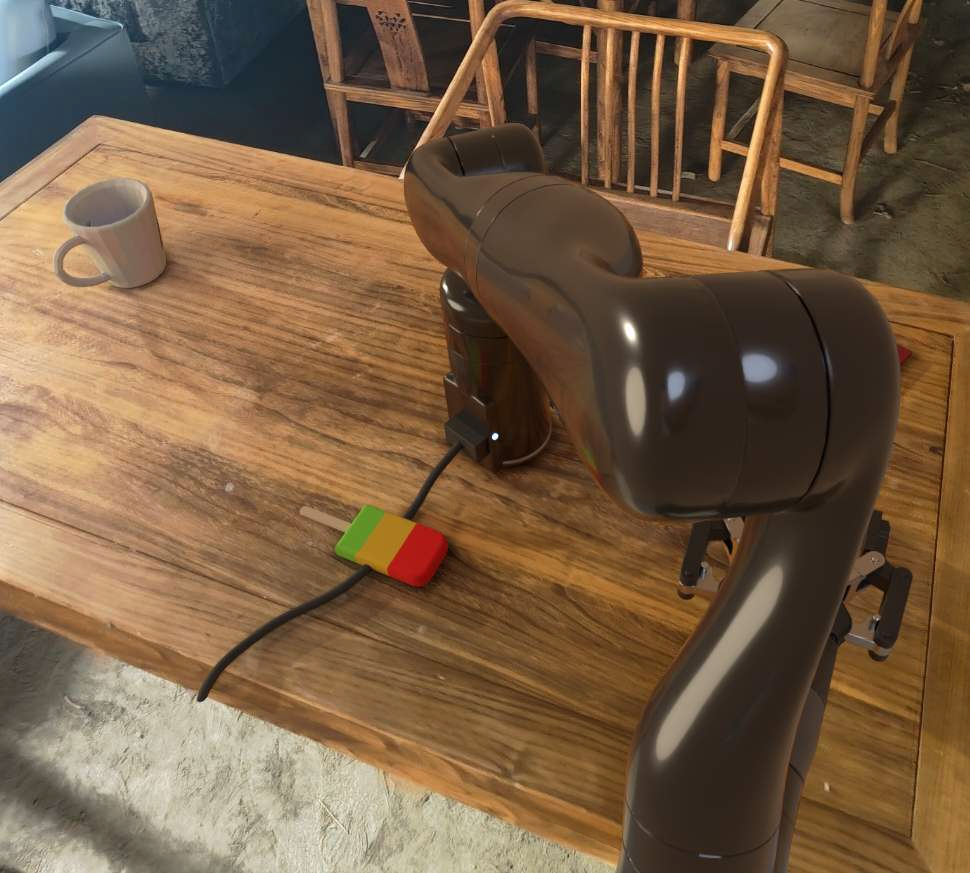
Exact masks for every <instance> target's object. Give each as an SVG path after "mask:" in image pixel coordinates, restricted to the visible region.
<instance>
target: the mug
mask: <svg viewBox="0 0 970 873" xmlns="http://www.w3.org/2000/svg"><path fill="white" fill-rule="evenodd" d="M61 217H62V220H63V221H64V223H65V225H66V227H67V228H68V229H69V231H70V233H71V234H72V235H73V236H72V237H69V238H67V239H66V240H64V241H63V242H62V243H61V244H59V246H58V247H57V248H56V249H55V251H54V253H53V255H52V256H53V257H52V270H53V273H54V274H55V276H56V277H57V278H58V280H60V281H61V282H62V283H63V284H65V285H67V286H70V287H75V288H91V287H95V286H99V285H102V284H105V283H107V282H108V283H109V284H111V285H113V286H114V287H117V288H121V289H133V288H137V287H141V286H144V285H147V284H150V283H151V282H153V281H154V280H156V279H158V278H159V277H160V275H161V274H163V273H164V270H165V269H166V266H167V256H166V251H165V246H164V242H163V237H162V232H161V228H160V224H159V219H158V215H157V211H156V206H155V201H154V197H153V193H152V191H151V189H150V188H149V186H148V184H147V183H144V182H143V181H141V180H139V179H135V178H131V177H113V178H107V179H102V180H99V181H96V182H94V183H91V184H88V185H86V186H85V187H83V188H81V189H79V190H78V191H76V192H75V193H74V194H73V195H72V196H70V197H69V198H68V199H67V201H66V202H65V203H64V206H63V207H62V212H61ZM78 246H81V248H83V250H84V251H85V253H86V254H87V255H88V257H89V258H90V259H91V261H92V262H93V264H94V265H95V266H96V268H97V269H98V271H99V272H100V274H99V273H98V274H97V275H94V276H90V277H76V276H72V275H71V274H69V273H67V271H66V270H65V269H64V259H65V257H66V255H67V254H68V253H69V252H70V251H71V250H73V249H74V248H75V247H78Z"/></svg>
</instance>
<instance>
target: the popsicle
mask: <svg viewBox="0 0 970 873" xmlns="http://www.w3.org/2000/svg"><path fill="white" fill-rule="evenodd" d="M299 514H300V515H301V516H302V517H305V518H308V519H310V520H312V521H315V522H317V523H320V524H322V525H325V526H327V527H330V528H332V529H335V530H338V531H340V532H342V533H344V534H343V535H342V537H341V538H340V539H339V541H338V542H337V544H336V545H335V546H334V551H335V554H336V555H337V556H339V557H341V558H344V559H346V560H348V561H351V562H354V563H356V564H358V565H361V566H363V565H364V564H367V565H369V566H371V568H372V570H373V571H375V572H377V573H380V574H382V575H385V576H387V577H389V578H392V579H395V580H397V581H400V582H402V583H403V584H404V583H405V584H407V585H409V586H412V587H418V588H419V587H420V588H421V587H424V586H426V585H427V584H428V583H430V581H431V580H432V578H433V577H434V576H435V574H436V572H437V571H438V569H439V567H440V566H441V564H442V562H443V561H444V559H445V557H446V556H447V554H448V550H449V543H448V540H447V537H446V536H445V535H444V533H442V532H441V531H438V530H436V529H434V528H431V527H428V526H426V525H423V524H422V523H421V524H420V523H418V522H415V521H412V520H411V521H410V520H407V519H405V518H402V517H403V516H399V515H397V514H395V513H392V512H389V511H387V510H383V509H381V508H379V507H375V506H373V505H370V504H365V505H364V506H362V508H361V510H360V511H359V512H358V514H357V515H356V516H355V518H354V520H353V521H352V522H351V523H350V522H348V521H346V520H343V519H341V518H338V517H336V516H333V515H330V514H329V513H328V514H327V513H326V512H323V511H320V510H317V509H315V508H312V507H310V506H307V505H304V506H303V505H302V507H301V508H300V509H299Z"/></svg>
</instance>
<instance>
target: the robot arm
mask: <svg viewBox="0 0 970 873" xmlns="http://www.w3.org/2000/svg"><path fill="white" fill-rule="evenodd" d="M548 168H549V167H548V163H547V159H546V156H545V153H544V151H543V147H542V145H541V143H540V141H539V139H538V137H537V136H536V135H535V133H534V132H533V131H532V130H531V129H530V127H528V126H526V125H525V124H523V123H519V122H509V123H502V124H498V125H493V126H488V127H484V128H480V129H475V130H471V131H466V132H462V133H457V134H453V135H449V136H444V137H439V138H435V139H432V140H429V141H426V142H425V143H423V144H420V145H419V146H418V147H416V148H415V149H414V150H413V151H412V153H410V155H409V157H408V159H407V162H406V164H405V168H404V174H403V197H404V202H405V206H406V210H407V215H408V217H409V220H410V222H411V225H412V227H413V230H414V232H415V234H416V235H417V237H418V239H419V240H420V242H421V244H422V246H424V248H425V249H426V251H427V252H428V253H429V254H430V255H431V256H432V257H433V258H434V259H435V260H436V261H438V262H439V263H440V264H441V265H443V266H445V267H446V269H445V270H444V272H443V274H442V276H441V278H440V282H439V302H440V307H441V314H442V319H443V327H444V333H445V342H446V349H447V357H448V363H449V370H450V371H449V372H447V373H446V374H445V375H443V377H442V383H443V388H444V395H445V401H446V407H447V408H446V409H447V414H448V420H447V421H445V422H443V429H444V436H445V441H446V442H448V443H449V444H450V445H451V447H450V449H449V450H448V451H447V452H446V453H445V454H444V456H443V457H442V458H441V459H440V460H439V461H438V462H437V464H436V465H435V467H434V468H433V469H432V470H431V472H430V473H429V474H428V476H427V477H426V479H425V481H424V482H423V484H422V486H421V488H420V490H419V491H418V493H417V495H416V496H415V499H414V500H413V502H412V503H411V505H410V506H409V507H408V509H407V510H406V511H405V513H404V514H403V515H402V516H401V517H402V518H405V519H407V520H410V521H412V520H413V518H414V517H415V515H416V514H417V512H418V511H419V509H420V508H421V507H422V505H424V502H425V500H426V498H427V497H428V495H429V493H430V491H431V489H432V487H433V486H434V484H435V483H436V482H437V480H438V479H439V477H440V476H441V474H443V472H444V471H445V469H446V468H447V467H448V466H449V464H451V462H452V461H453V460H454V459H455V458H456V457H457V455H458V454H459V453H460V452H461V453H462V454H463V455H465V456H466V457H467V458H468V459H470V460H472V461H473V462H474V463H475V464H480V465H482V466H483V467H484V468H486V469H487V470H488V471H490V472H491V473H493V474H496V473H497V472H499V471H500V470H502V469H504V468H512V467H517V466H522V465H524V464H527V463H529V462H531V461H533V460H534V459H536V458H538V457H539V456H541V454H542V453H543V452H544V451H545V450H546V448H547V447H548V446H549V444H550V441H551V439H552V435H553V424H552V418H551V409H552V410H554V411H555V414H556V415H557V417H558V419H559V421H560V422H561V425H562V427H563V428H564V430H565V433H566V434H567V436H568V438H569V440H570V442H571V444H572V446H573V447H574V449H575V451H576V453H577V455H578V456H579V458H580V460H581V462H582V464H583V465H584V467H585V469H586V470H587V472H588V473H589V475H590V477H592V479H593V481H594V482H595V484H596V485H597V487H598V488H599V489H600V491H601V492H602V494H604V495H605V497H606V498H607V499H608V500H609V501H610V503H612V504H613V505H614V506H616V507H617V508H618V509H619V511H621V512H624V513H625V514H626V515H628V516H630V517H631V518H633V519H636V520H639V521H642V522H647V523H648V522H649V523H654V524H655V523H656V524H665V525H685V524H687V525H688V524H692V526H691V529H690V533H689V537H688V541H687V545H686V548H685V552H684V555H683V559H682V563H681V566H680V570H679V577H678V582H677V583H678V584H677V590H676V594H677V596H678V597H679V598H680V599H682V600H683V601H684V600H685V601H690V600H692V599H693V598H695V596H699V597H702V598H706V599H710V600H711V601H710V604H709V606H707V609H706V610H705V611H704V613H703V615H702V616H701V618H700V619H699V621H698V623H697V624H696V626H695V627H694V628H693V630H692V631H691V633H690V635H689V636H688V637H687V639H686V640H685V641H684V643H683V644H682V645H681V647H680V648H679V650H678V651H677V653H676V654H675V656H674V657H673V658H672V659H671V661H670V663H669V664H668V666H667V667H666V669H665V670H664V671H663V673H662V675H661V676H660V677H659V679H658V681H657V682H656V684H655V685H654V687H653V689H652V691H651V692H650V694H649V695H648V698H647V699H646V702H645V704H644V706H643V707H642V710H641V712H640V714H639V716H638V718H637V721H636V723H635V726H634V727H633V728H634V729H633V730H632V735H631V739H630V743H629V747H628V752H627V758H626V763H625V764H626V765H625V772H624V773H625V774H624V791H623V809H622V824H621V826H622V828H621V831H622V834H621V841H620V842H621V844H620V850H619V855H618V860H617V865H616V867H615V872H614V873H788V872H789V863H790V854H791V849H792V844H793V838H794V833H795V827H796V823H797V820H798V814H799V810H800V805H801V800H802V796H803V791H804V787H805V784H806V780H807V777H808V774H809V772H810V769H811V767H812V764H813V761H814V758H815V755H816V753H817V748H818V745H819V741H820V737H821V736H820V735H821V731H822V725H823V720H824V717H825V712H826V708H827V703H828V698H829V693H830V688H831V684H832V680H833V675H834V670H835V665H836V660H837V655H838V652H839V648H840V646H842V645H843V644H844V643H845V642H847V643H850V644H852V645H855V646H857V647H861V648H864V649H866V650H867V654H868V656H869V657H870V659H872V660H873V661H875V662H879V663H883V662H885V661H887V659H888V657H889V655H890V654H891V652H892V650H893V648H894V646H895V644H896V642H897V641H898V637H899V634H900V630H901V626H902V622H903V617H904V614H905V610H906V607H907V602H908V598H909V595H910V594H909V593H910V590H911V586H912V584H913V579H914V575H913V572H912V571H911V570H909V569H908V568H907V567H903V566H897V567H896V566H895V565H892V564H891V563H890V562H889V561H888V560H887V558H886V554H887V553H886V552H887V549H888V548H887V547H888V542H889V538H890V532H891V527H892V526H891V525H890V521H889V520H886V519H883V515H884V511H882V510H879V509H875V507H876V504H877V501H878V498H879V495H880V492H881V489H882V486H883V483H884V480H885V477H886V474H887V470H888V466H889V463H890V459H891V455H892V452H893V447H894V442H895V439H896V438H895V437H896V433H897V428H898V423H899V415H900V406H901V405H900V404H901V390H902V389H901V388H902V371H901V366H900V363H899V355H898V349H897V344H898V343H897V340H896V337H895V334H894V331H893V328H892V326H891V323H890V320H889V318H888V315H887V314H886V312H885V311H884V309H883V307H882V306H881V304H880V302H879V301H878V299H877V298H876V296H874V295H873V293H872V292H871V291H870V290H868V288H867V287H865V285H864V284H863V283H862V282H861V281H859V280H857V279H856V278H854V277H852V276H850V275H849V274H846V273H844V272H842V271H839V270H836V269H830V268H821V267H818V268H817V267H815V268H814V267H801V268H800V267H799V268H779V269H763V270H757V271H755V270H754V271H753V270H748V271H735V272H718V273H705V274H703V273H702V274H701V273H700V274H687V275H686V274H685V275H677V276H675V275H672V276H652V277H651V276H649V277H644V257H643V253H642V249H641V248H642V247H641V243H640V240H639V238H638V235H637V233H636V231H635V229H634V227H633V225H632V223H631V222H630V221H629V220H628V218H627V217H626V216H625V214H624V213H623V212H622V211H621V210H620V209H619V208H617V207H616V205H615V204H613V203H612V202H611V201H609V200H608V199H607V198H605V197H603V196H602V195H600V194H599V193H597V192H595V191H594V190H591V189H590V188H588V187H586V186H584V185H582V184H580V183H578V182H576V181H574V180H573V179H570V178H567V177H564V176H561V175H557V174H554V173H550V172H549V169H548ZM709 541H710V542H711V541H713V542H715V541H717V542H719V541H720V543H721V545H722V547H723V549H724V552H725V553H726V556H727V557H728V560H729V568H728V570H727V572H726V573H725V574H726V575H725V576H724V577H723V578H722V579H721V581H719V580H717V579H716V578H715V577H714V575H713V568H712V566H711V565H710V564H709V563H708V562H707V561H705V557H706V552H707V549H708V545H709ZM858 555H859V556H858ZM372 570H373V569H372V568H371V566H369V565H367V564H364V565H361V567H359V568H358V570H357V571H355V572H354V573H353V574H352V575H351V576H349V577H347V578H346V579H345V580H344V581H342V582H341V583H340V584H338V585H337V586H335V587H333V588H331V589H330V590H328V591H326V592H324V593H323V594H321V595H318V596H317V597H315V598H312V599H310V600H307V601H305V602H304V603H301V604H299V605H297V606H295V607H293V608H290V609H288V610H287V611H285V612H283V613H281V614H279V615H277V616H276V617H274V618H273V619H271V620H269V621H267V622H266V623H264V624H263V625H262V626H260V627H259V628H257V629H256V630H255V631H254V632H253V633H251V634H249V635H248V636H246V637H245V638H244V639H243V640H242V641H240V642H239V643H237V645H235V646H234V647H233V648H232V649H230V650H229V651H228V652H227V653H226V654H224V656H222V657H221V659H219V660H218V661H217V663H216V664H215V665H214V666H213V667H212V669H210V671H209V673H208V674H207V676H206V677H205V679H204V681H203V683H202V684H201V686H200V688H199V690H198V693H197V696H196V702H197V703H203V702H204V701H206V700H207V698H208V696H209V694H210V692H211V690H212V688H213V686H214V685H215V683H216V682H217V680H218V679H219V677H220V676H221V674H222V673H223V672H224V671H225V670H226V669H227V668H228V667H229V666H230V665H231V664H232V663H233V662H234V661H235V660H236V659H237V658H238V657H239V656H241V655H242V654H243V653H245V652H246V651H247V650H248V649H250V648H251V647H252V646H254V645H255V644H256V643H258V642H259V641H260V640H262V639H263V638H264V637H265V636H266V635H268V634H270V633H271V632H272V631H274V630H276V629H277V628H279V627H280V626H282V625H284V624H286V623H287V622H289V621H292V620H294V619H295V618H298V617H300V616H302V615H304V614H306V613H308V612H310V611H312V610H314V609H317V608H319V607H321V606H323V605H325V604H327V603H329V602H331V601H333V600H334V599H336V598H338V597H339V596H341V595H343V594H344V593H346V592H347V591H349V590H350V589H351V588H353V587H354V586H355V585H356V584H358V583H359V582H360V581H361V580H362V579H364V578H365V577H366V576H367V575H368V574H369V573H370V572H371V571H372ZM871 587H874V588H875V589H878V590H879V591H881V592H883V593H882V597H881V602H880V605H879V609H878V612H877V613H874V614H868V615H866V617H865V618H864V619H863V621H861V622H859V623H858V622H853V619H852V615H851V614H850V612H849V611H848V608H847V607H846V605H847V604H849V603H850V602H851V601H852V600H853V599H854V598H855V597H857V596H858V595H860V594H861V593H862V592H865V591H866V590H868V589H869V588H871Z"/></svg>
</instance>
